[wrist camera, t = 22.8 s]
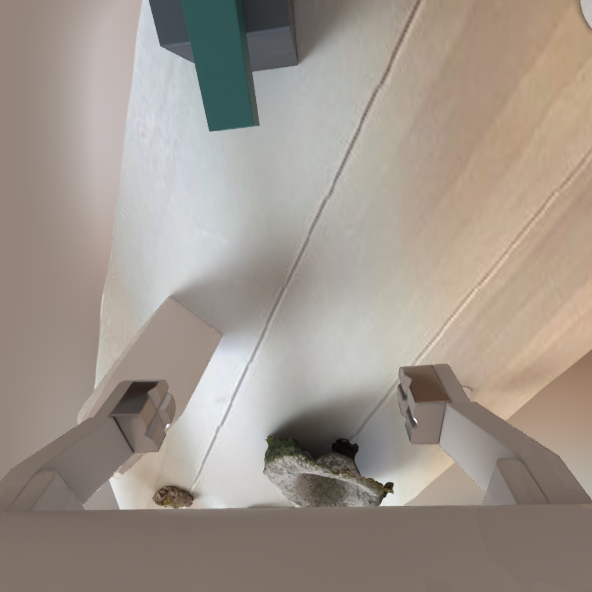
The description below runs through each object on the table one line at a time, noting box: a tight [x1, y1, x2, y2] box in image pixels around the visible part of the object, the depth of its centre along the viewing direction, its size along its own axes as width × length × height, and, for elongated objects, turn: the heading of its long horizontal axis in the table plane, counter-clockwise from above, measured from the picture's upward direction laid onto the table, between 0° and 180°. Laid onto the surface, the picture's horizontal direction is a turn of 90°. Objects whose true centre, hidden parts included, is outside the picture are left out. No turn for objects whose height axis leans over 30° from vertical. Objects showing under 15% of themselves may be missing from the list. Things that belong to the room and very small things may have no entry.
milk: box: [77, 296, 223, 479], centre depth 48 cm, size 12×12×26 cm
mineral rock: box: [152, 487, 194, 509], centre depth 85 cm, size 11×4×8 cm
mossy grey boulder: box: [263, 436, 394, 507], centre depth 68 cm, size 29×30×15 cm
